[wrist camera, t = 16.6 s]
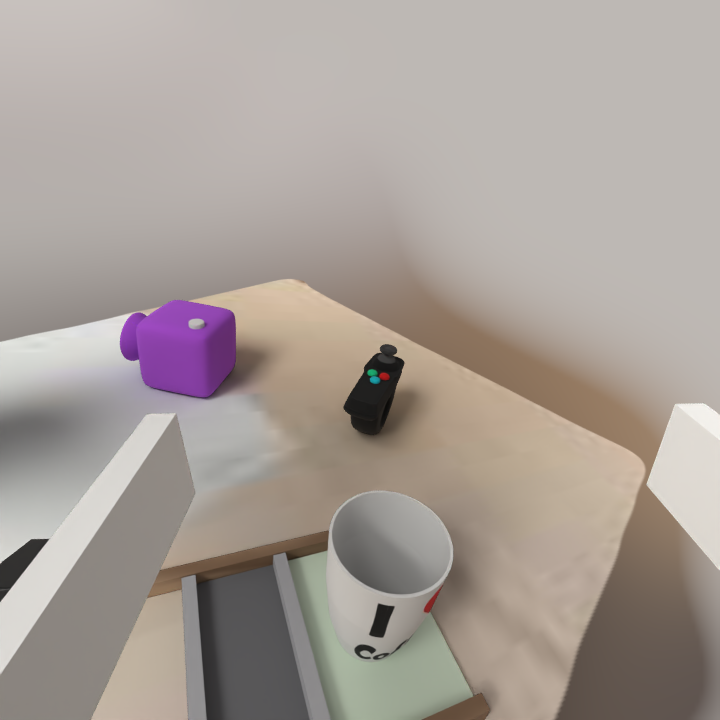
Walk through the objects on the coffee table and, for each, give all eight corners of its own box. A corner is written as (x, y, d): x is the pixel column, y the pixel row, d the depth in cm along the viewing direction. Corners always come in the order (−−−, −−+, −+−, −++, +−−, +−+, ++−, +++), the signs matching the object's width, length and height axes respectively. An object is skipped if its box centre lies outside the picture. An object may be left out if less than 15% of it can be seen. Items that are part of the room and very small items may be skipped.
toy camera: (143, 352, 63) (134, 286, 58) (240, 361, 64) (239, 297, 59) (108, 394, 53) (94, 320, 48) (222, 404, 55) (220, 333, 50)
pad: (284, 563, 37) (284, 561, 37) (390, 536, 41) (390, 534, 41) (337, 764, 26) (337, 762, 26) (474, 701, 30) (475, 699, 30)
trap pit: (182, 589, 34) (181, 578, 33) (284, 563, 37) (285, 552, 36) (194, 829, 23) (193, 819, 22) (337, 764, 26) (339, 753, 25)
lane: (47, 610, 31) (42, 598, 31) (385, 527, 42) (387, 516, 41) (-27, 965, 19) (-38, 958, 18) (483, 720, 29) (490, 709, 28)
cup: (342, 709, 28) (365, 620, 23) (298, 596, 34) (309, 507, 29) (441, 655, 32) (479, 569, 27) (386, 563, 38) (409, 478, 33)
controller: (397, 408, 59) (411, 343, 54) (368, 466, 48) (382, 392, 43) (367, 399, 60) (378, 334, 55) (333, 454, 49) (343, 380, 44)
